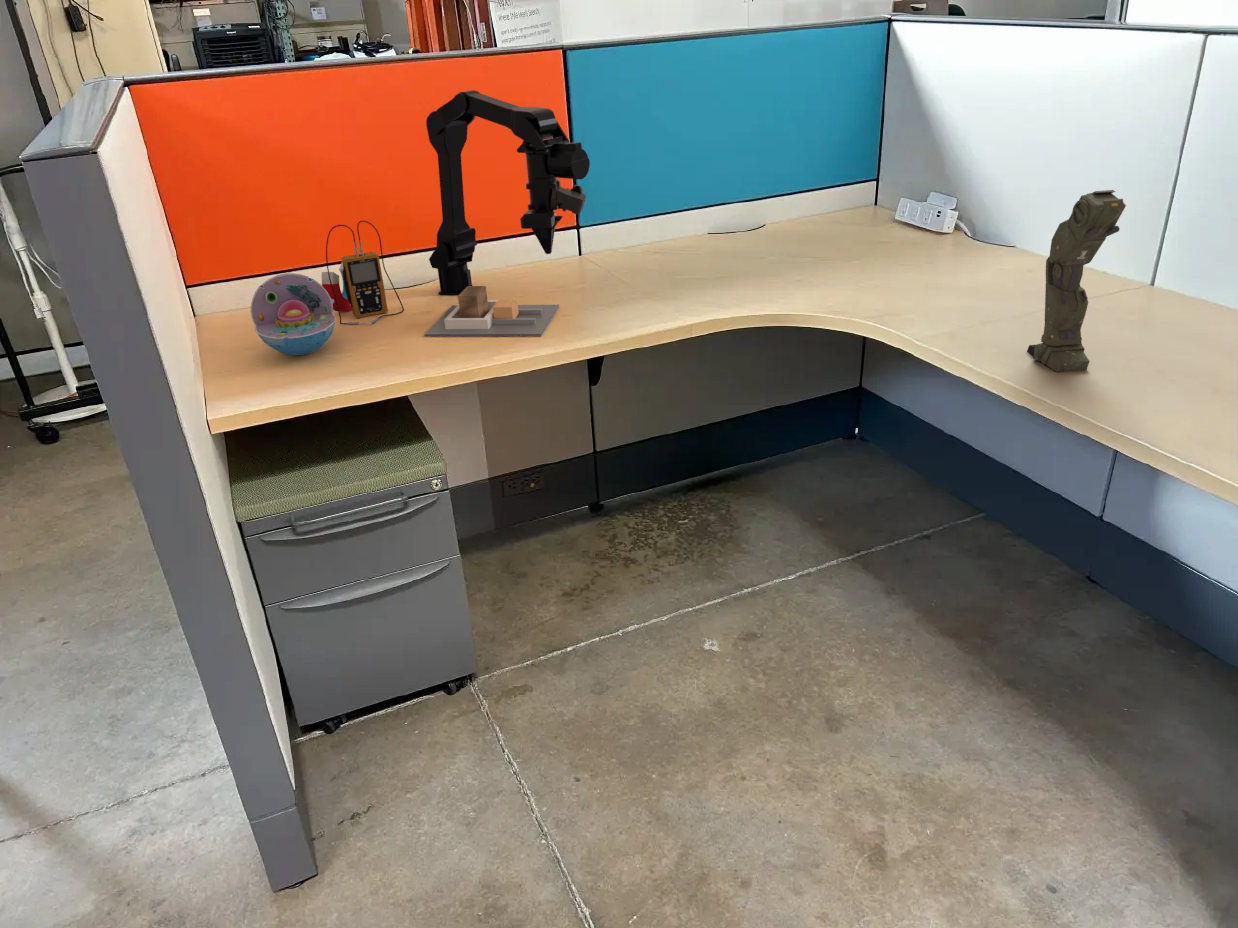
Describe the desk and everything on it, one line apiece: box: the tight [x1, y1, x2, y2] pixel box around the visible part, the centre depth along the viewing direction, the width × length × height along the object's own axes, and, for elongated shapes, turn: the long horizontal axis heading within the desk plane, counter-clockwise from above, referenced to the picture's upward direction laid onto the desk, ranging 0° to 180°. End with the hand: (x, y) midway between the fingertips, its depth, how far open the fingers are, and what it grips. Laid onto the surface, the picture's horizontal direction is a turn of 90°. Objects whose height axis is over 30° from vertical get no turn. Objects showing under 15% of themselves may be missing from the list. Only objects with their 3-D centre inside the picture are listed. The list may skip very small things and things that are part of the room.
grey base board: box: [424, 299, 560, 338], centre depth 186 cm, size 24×19×2 cm
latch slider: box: [493, 299, 519, 319], centre depth 185 cm, size 4×5×3 cm
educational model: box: [250, 272, 337, 356], centre depth 172 cm, size 16×19×15 cm
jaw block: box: [457, 285, 489, 318], centre depth 185 cm, size 4×7×6 cm, turn 173°
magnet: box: [321, 261, 352, 313], centre depth 196 cm, size 12×3×10 cm, turn 169°
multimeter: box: [325, 220, 405, 326], centre depth 187 cm, size 15×10×20 cm
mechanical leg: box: [1026, 189, 1127, 373], centre depth 145 cm, size 14×7×30 cm, turn 5°
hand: (548, 253), depth 186 cm, fingers closed
